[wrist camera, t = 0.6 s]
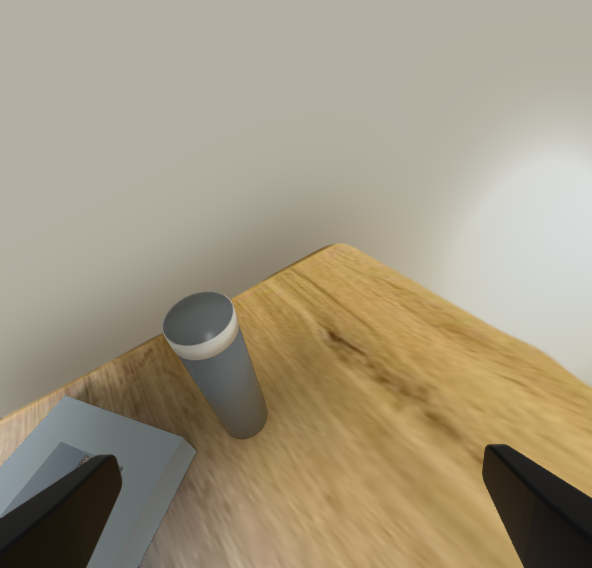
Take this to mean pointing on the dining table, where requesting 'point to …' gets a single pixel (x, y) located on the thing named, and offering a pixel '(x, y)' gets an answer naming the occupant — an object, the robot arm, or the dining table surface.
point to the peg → (217, 360)
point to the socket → (132, 461)
